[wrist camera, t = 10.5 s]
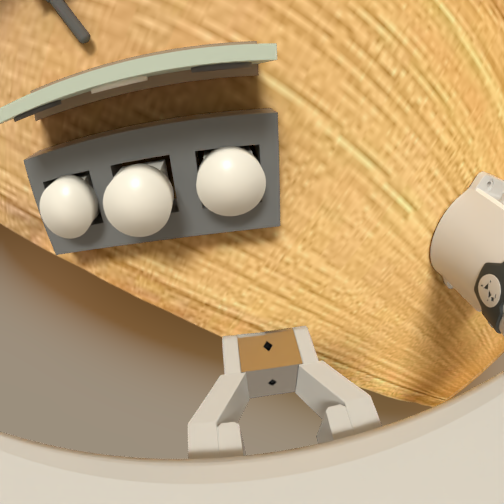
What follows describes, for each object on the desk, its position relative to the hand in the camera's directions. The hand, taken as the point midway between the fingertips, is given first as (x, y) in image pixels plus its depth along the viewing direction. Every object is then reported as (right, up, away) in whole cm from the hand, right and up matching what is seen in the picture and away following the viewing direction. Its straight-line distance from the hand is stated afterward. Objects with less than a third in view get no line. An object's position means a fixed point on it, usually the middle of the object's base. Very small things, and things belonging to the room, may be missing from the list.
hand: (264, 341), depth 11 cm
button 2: (-3, +11, +15) cm, 19 cm away
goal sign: (-10, +18, +10) cm, 23 cm away
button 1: (-16, +9, +14) cm, 23 cm away
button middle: (-9, +9, +13) cm, 19 cm away
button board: (-9, +10, +15) cm, 20 cm away
